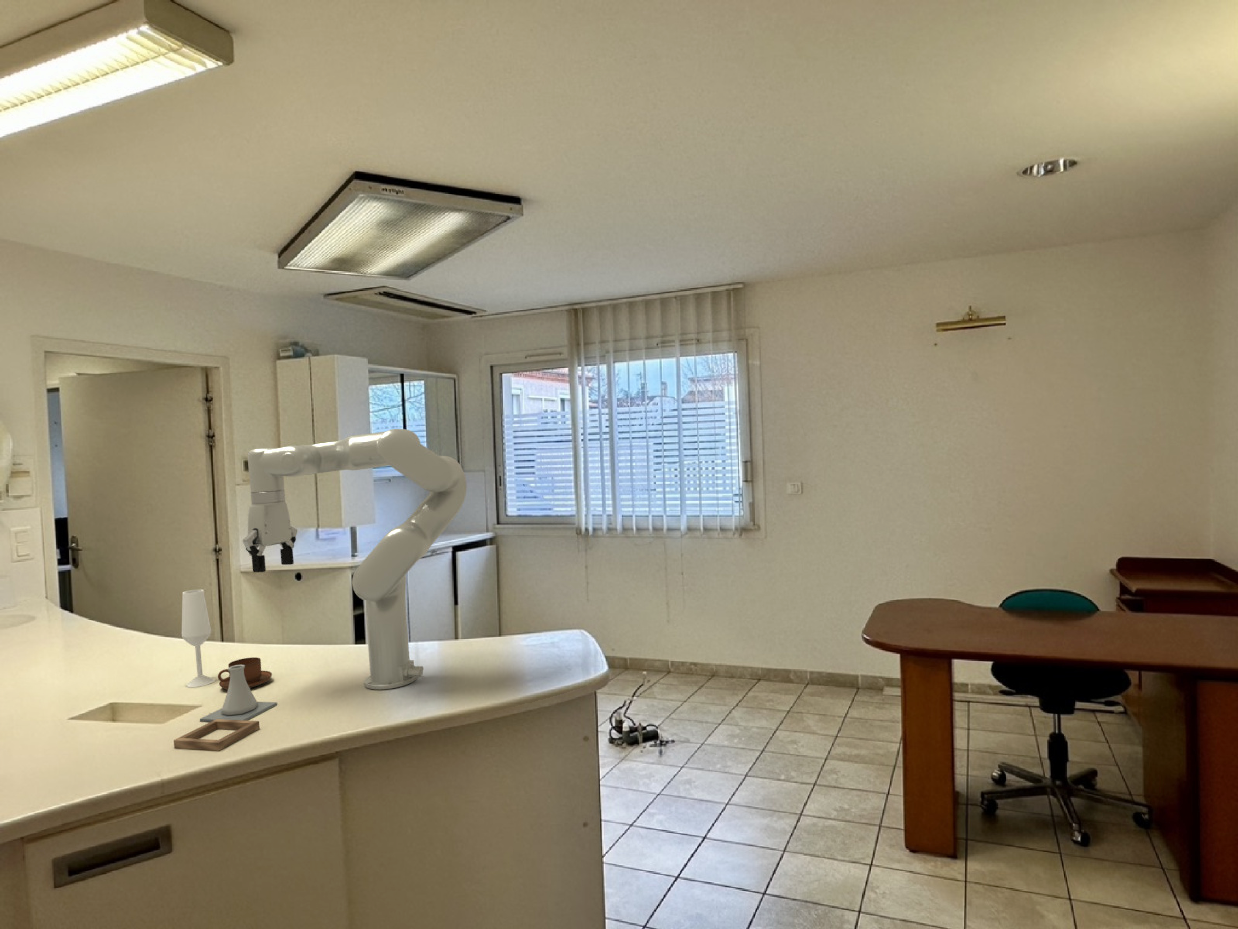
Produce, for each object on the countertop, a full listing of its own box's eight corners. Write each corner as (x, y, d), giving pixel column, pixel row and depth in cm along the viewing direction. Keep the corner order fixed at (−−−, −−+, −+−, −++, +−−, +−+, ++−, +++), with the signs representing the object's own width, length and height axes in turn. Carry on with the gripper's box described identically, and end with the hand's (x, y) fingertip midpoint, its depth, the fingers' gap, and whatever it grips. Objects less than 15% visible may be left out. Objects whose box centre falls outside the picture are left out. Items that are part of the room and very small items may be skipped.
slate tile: (276, 705, 170) (276, 702, 170) (241, 723, 159) (241, 721, 159) (237, 703, 173) (237, 700, 173) (200, 721, 162) (199, 718, 162)
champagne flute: (182, 684, 191) (174, 592, 190) (210, 676, 196) (202, 587, 195) (190, 689, 186) (182, 595, 185) (219, 681, 191) (211, 590, 190)
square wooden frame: (259, 728, 156) (259, 721, 156) (219, 750, 145) (218, 742, 145) (217, 726, 159) (216, 719, 159) (174, 748, 148) (173, 740, 148)
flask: (264, 704, 169) (261, 661, 169) (242, 716, 162) (239, 672, 162) (237, 704, 170) (233, 661, 170) (214, 716, 163) (210, 672, 163)
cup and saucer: (237, 696, 178) (234, 671, 178) (209, 690, 185) (207, 666, 184) (282, 681, 188) (280, 657, 188) (255, 675, 195) (253, 652, 195)
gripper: (280, 496, 188) (285, 562, 189) (228, 502, 172) (234, 575, 172) (305, 494, 186) (310, 561, 187) (255, 501, 170) (261, 575, 170)
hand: (273, 568), depth 180 cm, fingers open, 9 cm apart
